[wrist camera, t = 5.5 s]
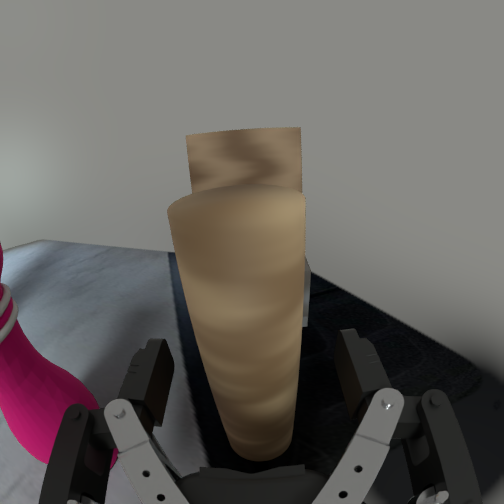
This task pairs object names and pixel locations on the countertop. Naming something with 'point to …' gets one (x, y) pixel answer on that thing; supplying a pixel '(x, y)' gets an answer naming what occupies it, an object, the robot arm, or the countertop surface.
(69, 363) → the countertop surface
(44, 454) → the pepper mill
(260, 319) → the oak post
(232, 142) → the cup bracket
